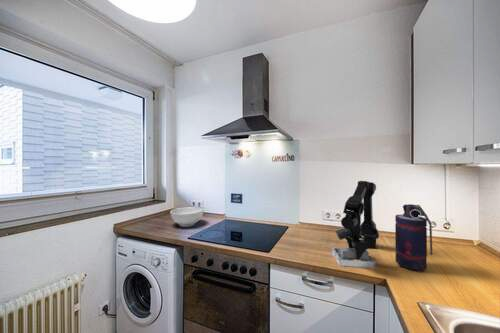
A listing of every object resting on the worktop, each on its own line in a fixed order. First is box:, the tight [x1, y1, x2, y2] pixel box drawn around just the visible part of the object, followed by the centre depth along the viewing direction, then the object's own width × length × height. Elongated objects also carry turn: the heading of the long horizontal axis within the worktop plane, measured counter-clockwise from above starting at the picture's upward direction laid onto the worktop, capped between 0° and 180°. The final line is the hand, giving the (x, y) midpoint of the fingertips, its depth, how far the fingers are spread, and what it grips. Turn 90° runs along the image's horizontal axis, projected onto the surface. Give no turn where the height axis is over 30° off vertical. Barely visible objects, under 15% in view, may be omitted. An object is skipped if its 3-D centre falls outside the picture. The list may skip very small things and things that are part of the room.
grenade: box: [394, 203, 433, 273], centre depth 95 cm, size 14×12×30 cm
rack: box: [330, 247, 377, 269], centre depth 102 cm, size 16×15×4 cm
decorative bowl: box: [169, 206, 205, 228], centre depth 164 cm, size 27×27×12 cm
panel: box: [339, 247, 370, 261], centre depth 99 cm, size 12×4×6 cm, turn 81°
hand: (354, 255), depth 99 cm, fingers open, 9 cm apart
